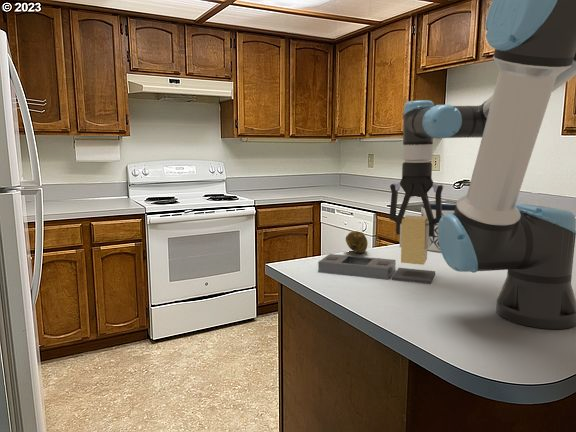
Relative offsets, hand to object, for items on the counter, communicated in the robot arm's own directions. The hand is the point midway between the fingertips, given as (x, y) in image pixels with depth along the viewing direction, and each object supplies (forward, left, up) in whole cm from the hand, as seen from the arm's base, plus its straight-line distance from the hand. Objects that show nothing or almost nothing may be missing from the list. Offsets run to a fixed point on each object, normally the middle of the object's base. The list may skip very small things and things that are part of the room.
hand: (414, 247), depth 122 cm
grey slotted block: (0, +16, -8) cm, 18 cm away
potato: (+21, +22, -9) cm, 31 cm away
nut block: (0, 0, -4) cm, 4 cm away
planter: (+39, -4, -9) cm, 40 cm away
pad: (0, 0, -8) cm, 8 cm away
